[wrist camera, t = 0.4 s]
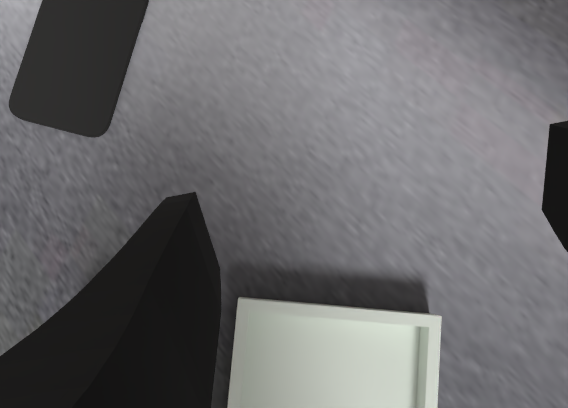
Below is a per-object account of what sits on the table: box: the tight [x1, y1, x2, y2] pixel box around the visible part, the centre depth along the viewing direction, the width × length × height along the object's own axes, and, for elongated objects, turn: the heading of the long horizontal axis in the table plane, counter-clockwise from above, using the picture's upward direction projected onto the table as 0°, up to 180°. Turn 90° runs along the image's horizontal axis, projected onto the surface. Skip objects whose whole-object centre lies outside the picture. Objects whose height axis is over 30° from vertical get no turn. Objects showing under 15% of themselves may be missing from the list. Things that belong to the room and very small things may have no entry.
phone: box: [9, 0, 149, 137], centre depth 39 cm, size 7×1×15 cm
